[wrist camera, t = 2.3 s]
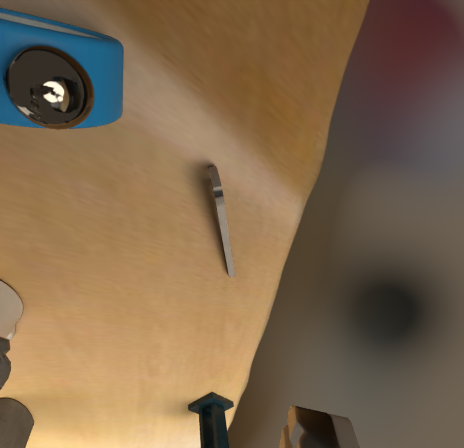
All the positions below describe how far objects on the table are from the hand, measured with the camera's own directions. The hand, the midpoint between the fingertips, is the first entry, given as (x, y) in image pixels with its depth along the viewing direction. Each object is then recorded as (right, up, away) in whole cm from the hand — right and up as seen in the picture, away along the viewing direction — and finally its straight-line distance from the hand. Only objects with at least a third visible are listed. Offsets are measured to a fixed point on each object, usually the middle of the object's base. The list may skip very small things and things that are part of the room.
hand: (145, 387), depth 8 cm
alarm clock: (-14, +21, +20) cm, 32 cm away
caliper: (+1, +4, +34) cm, 34 cm away
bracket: (-3, -43, +65) cm, 78 cm away
